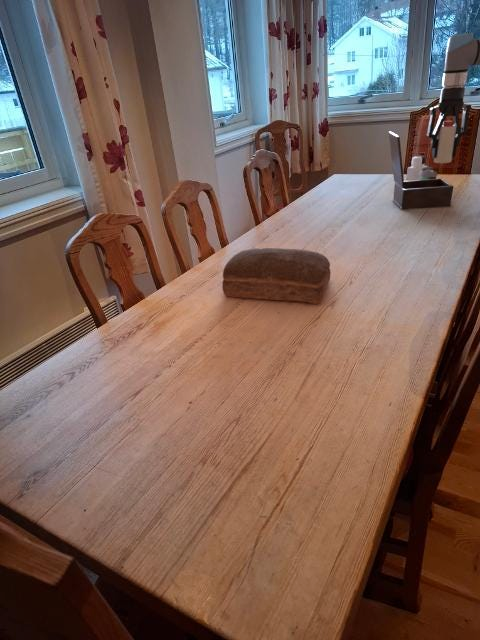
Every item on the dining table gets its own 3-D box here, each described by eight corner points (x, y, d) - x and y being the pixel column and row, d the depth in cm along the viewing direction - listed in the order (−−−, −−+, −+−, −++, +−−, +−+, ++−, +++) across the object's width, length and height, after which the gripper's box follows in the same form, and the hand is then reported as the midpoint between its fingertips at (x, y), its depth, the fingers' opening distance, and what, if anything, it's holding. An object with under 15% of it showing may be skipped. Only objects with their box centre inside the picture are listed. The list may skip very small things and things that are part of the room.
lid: (390, 131, 176) (388, 132, 176) (399, 136, 164) (397, 136, 164) (396, 180, 186) (394, 181, 186) (404, 188, 174) (402, 188, 174)
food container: (415, 188, 204) (418, 166, 199) (429, 188, 202) (432, 166, 197) (419, 195, 193) (422, 172, 188) (434, 195, 192) (437, 172, 187)
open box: (438, 197, 188) (441, 178, 184) (450, 206, 177) (453, 186, 172) (393, 200, 190) (394, 181, 186) (401, 209, 178) (403, 189, 174)
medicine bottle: (412, 179, 219) (415, 154, 213) (426, 180, 214) (429, 155, 208) (405, 182, 215) (408, 157, 209) (419, 183, 210) (422, 158, 204)
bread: (322, 306, 114) (322, 267, 108) (220, 297, 124) (215, 261, 118) (332, 279, 128) (333, 243, 122) (239, 273, 137) (236, 239, 132)
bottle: (447, 159, 164) (453, 119, 157) (453, 162, 159) (460, 121, 152) (431, 160, 165) (437, 120, 158) (436, 163, 160) (442, 122, 153)
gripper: (477, 83, 152) (465, 152, 163) (422, 88, 153) (414, 156, 165) (486, 84, 145) (473, 156, 157) (428, 89, 147) (420, 160, 159)
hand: (443, 156), depth 161 cm, fingers closed on bottle, 6 cm apart
